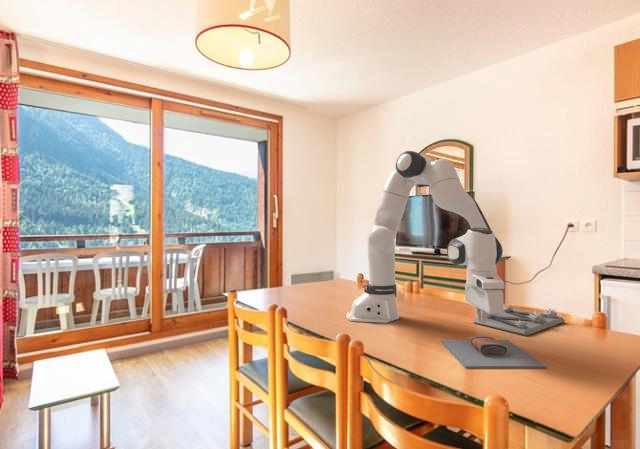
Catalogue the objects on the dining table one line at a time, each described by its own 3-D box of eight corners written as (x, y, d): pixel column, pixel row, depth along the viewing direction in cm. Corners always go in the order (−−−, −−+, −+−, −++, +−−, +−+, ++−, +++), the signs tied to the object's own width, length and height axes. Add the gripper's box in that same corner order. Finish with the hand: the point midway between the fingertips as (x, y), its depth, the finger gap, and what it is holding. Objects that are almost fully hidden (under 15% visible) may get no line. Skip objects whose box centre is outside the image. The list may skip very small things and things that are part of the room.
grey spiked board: (511, 312, 159) (511, 296, 159) (566, 323, 141) (566, 305, 141) (471, 324, 142) (471, 306, 142) (527, 338, 125) (527, 318, 125)
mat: (465, 368, 99) (465, 366, 99) (440, 341, 121) (440, 340, 121) (546, 368, 98) (546, 365, 98) (507, 341, 120) (507, 339, 120)
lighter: (507, 356, 106) (491, 344, 116) (507, 344, 106) (492, 334, 116) (479, 354, 107) (466, 343, 117) (480, 343, 107) (467, 332, 117)
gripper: (459, 274, 125) (460, 314, 125) (485, 284, 104) (486, 331, 104) (478, 274, 125) (478, 313, 125) (507, 284, 104) (508, 331, 104)
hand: (482, 322), depth 114 cm, fingers closed
